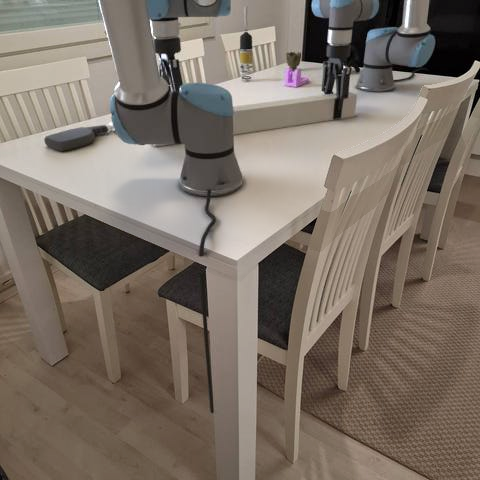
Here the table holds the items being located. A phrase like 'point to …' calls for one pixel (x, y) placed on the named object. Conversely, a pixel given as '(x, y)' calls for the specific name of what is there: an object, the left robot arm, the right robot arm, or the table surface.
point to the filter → (246, 48)
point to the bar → (288, 113)
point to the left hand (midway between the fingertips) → (173, 114)
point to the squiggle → (352, 62)
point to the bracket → (297, 78)
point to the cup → (293, 60)
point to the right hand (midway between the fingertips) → (332, 115)
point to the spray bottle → (76, 137)
